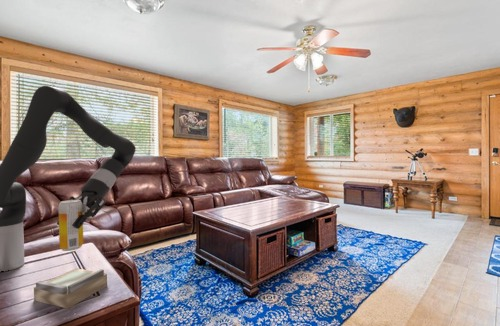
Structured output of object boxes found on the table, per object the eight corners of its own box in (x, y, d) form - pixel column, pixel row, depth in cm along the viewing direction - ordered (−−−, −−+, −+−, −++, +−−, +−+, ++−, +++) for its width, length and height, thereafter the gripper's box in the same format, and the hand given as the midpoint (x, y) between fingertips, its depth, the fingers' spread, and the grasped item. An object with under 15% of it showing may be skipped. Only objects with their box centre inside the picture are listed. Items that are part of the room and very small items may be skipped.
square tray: (33, 300, 73) (32, 281, 73) (76, 279, 86) (75, 263, 85) (67, 309, 69) (66, 289, 69) (107, 285, 82) (106, 268, 81)
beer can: (80, 243, 81) (78, 198, 81) (86, 247, 78) (84, 200, 77) (57, 248, 77) (56, 201, 76) (62, 253, 73) (61, 203, 72)
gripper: (77, 177, 86) (41, 218, 75) (109, 178, 82) (75, 222, 71) (91, 189, 91) (59, 230, 80) (122, 191, 87) (92, 234, 76)
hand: (67, 226), depth 76 cm, fingers closed on beer can, 6 cm apart
